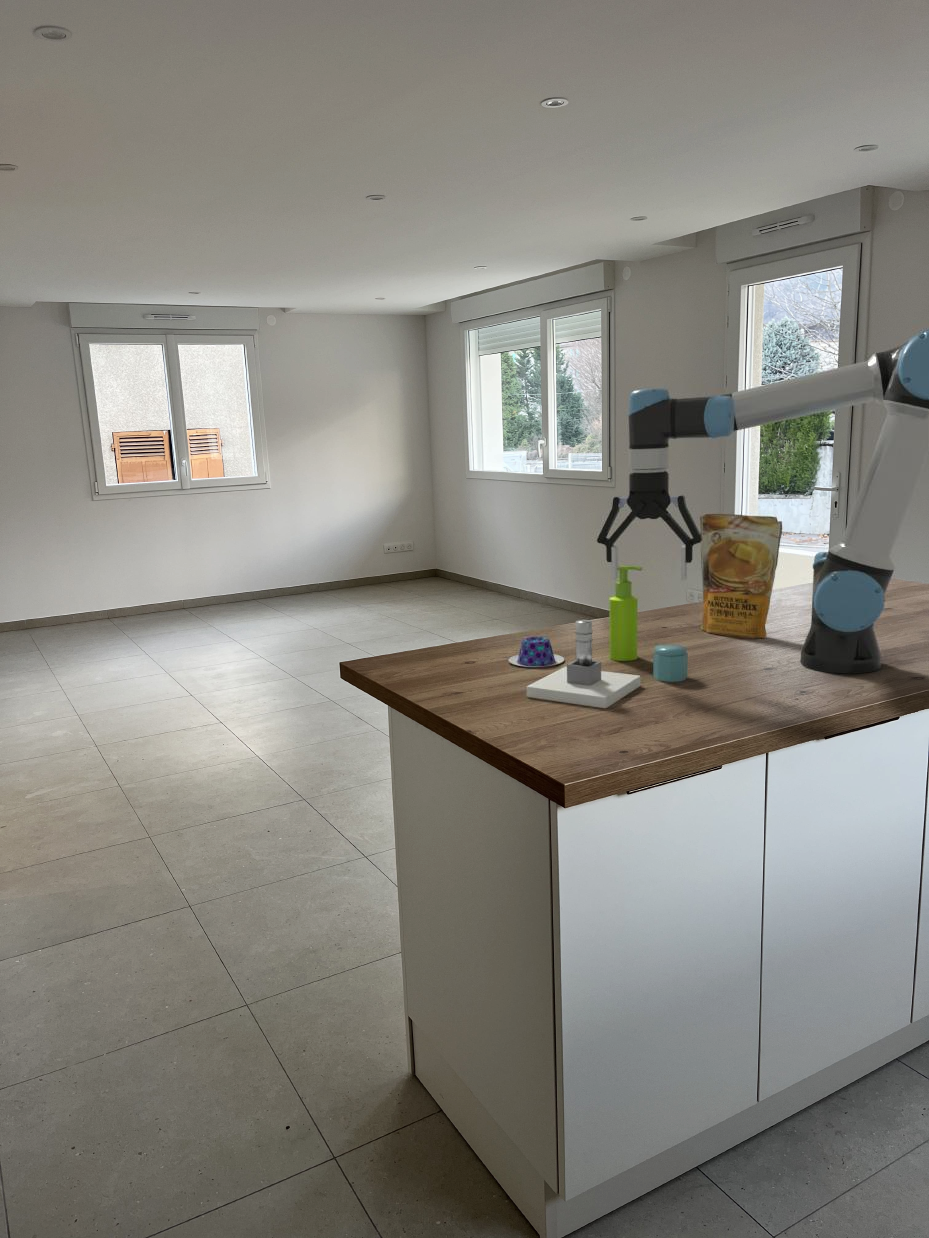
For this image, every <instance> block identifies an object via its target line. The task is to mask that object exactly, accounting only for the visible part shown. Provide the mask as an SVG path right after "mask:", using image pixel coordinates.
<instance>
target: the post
mask: <svg viewBox="0 0 929 1238" xmlns="http://www.w3.org/2000/svg"><path fill="white" fill-rule="evenodd" d="M574 633H575V640H574V641H575V660H576V665H580V666H588V667H589V666H591V665H592V661H593V621H592V620H589V619H578V620H576V621H575V630H574Z"/></svg>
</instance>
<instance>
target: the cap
mask: <svg viewBox="0 0 929 1238" xmlns="http://www.w3.org/2000/svg"><path fill="white" fill-rule="evenodd" d="M652 654H653V658H652V659H653V660H652V661H653V665H652V668H653V669H652V670H653V673H652V678H654V679H655V680H657V681H658V682H659V681H660V682H666V683H667V682H668V683H674V682H675V683H676V682H683V681H685V680H686V679H688V655H689V654H688V652H687V647H686V646H684V645H680V644H659V645H656V646H655V647H654V652H653V653H652Z"/></svg>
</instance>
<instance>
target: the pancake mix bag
mask: <svg viewBox="0 0 929 1238" xmlns="http://www.w3.org/2000/svg"><path fill="white" fill-rule="evenodd" d="M699 519H700V534H701V536H702V541H701V542H700V545H701V546H700V548H701V549H700V558H701V561H700V563H701V564H700V565H701V568H700V569H701V577H702V599H703V600H702V601H703V610H702V621H701V626H700V630H702V631H704V632H706V633H708V634H714V635H720V636H721V635H722V636H728V637H735V638H736V637H737V638H743V639H750V640H751V639H754V640H755V639H756V640H757V639H767V629H766V624H767V619H768V616H769V615H768V614H769V611H770V604H771V599H772V593H773V588H774V587H773V586H774V584H775V583H774V582H775V577H776V569H777V566H778V561H779V552H780V544H781V543H780V542H781V538H782V535H783V521H780V520H779V521H778V517H777V516H771V515H770V516H769V515H767V516H764V515H762V516H761V515H745V514H744V515H743V514H729V513H726V514H725V513H706V514H704V515H701V516H699Z"/></svg>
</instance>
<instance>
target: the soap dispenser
mask: <svg viewBox="0 0 929 1238" xmlns="http://www.w3.org/2000/svg"><path fill="white" fill-rule="evenodd" d="M628 570H629V571H631V570H633V571H640V572H641V571H642V570H643V566H639V565H633V564H632V565H630V564H629V565H618V580H617V581H615V582H614V583H615V584H614V585H615V594H614V596H611V597H609V603H608V604H609V607H608V609H609V659H610V660H612V661H616V662H629V661H630V662H632V661H635V660H637V659H638V597H636V596H634V595H632V594H633V593H632V588H633V587H632V581H631V580H629V579H628V578H629V577H628V574H629V573H628Z"/></svg>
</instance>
